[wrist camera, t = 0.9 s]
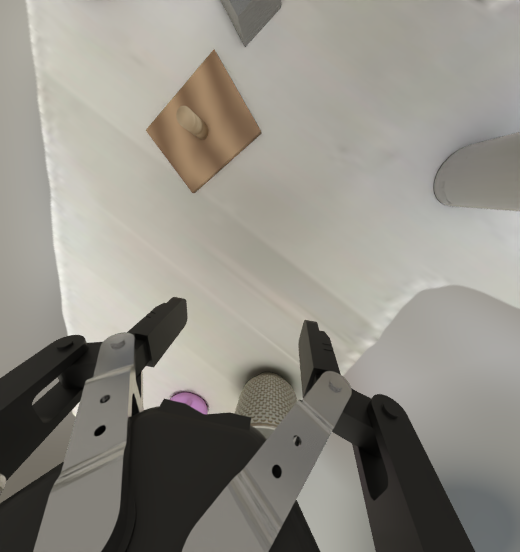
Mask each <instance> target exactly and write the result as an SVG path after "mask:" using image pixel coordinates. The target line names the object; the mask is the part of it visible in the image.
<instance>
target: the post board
mask: <svg viewBox="0 0 520 552" xmlns="http://www.w3.org/2000/svg"><path fill="white" fill-rule="evenodd" d="M146 131H147V133H148V134H149V135H150V137H151V138H152V139H153V141H154V142H155V143H156V145H157V146H158V147H159V149H160V150H161V151H162V153H163V154H164V155H165V157H166V158H167V159H168V161H169V162H170V163H171V165H172V166H173V167H174V169H175V170H176V171H177V173H178V174H179V175H180V177H181V178H182V179H183V181H184V182H185V183H186V185H187V186H188V188H189V189H190V190H191V192H192V193H195V192H196V191H197V190H199V189H200V188H201V187H202V186H203V185H204V184H205V183H206V182H207V181H209V180H210V179H211V178H212V177H213V176H214V175H215V174H216V173H218V172H219V171H220V170H221V169H222V168H223V167H224V166H225V165H227V164H228V163H229V162H230V161H231V160H232V159H233V158H234V157H235V156H237V155H238V154H239V153H240V152H241V151H242V150H243V149H244V148H246V147H247V146H248V145H249V144H250V143H251V142H252V141H253V140H255V139H256V138H257V137H258V136H259V135H260V134H261V131H260V129H259V127H258V125H257V124H256V122H255V120H254V118H253V117H252V115H251V113H250V111H249V110H248V108H247V106H246V104H245V102H244V101H243V99H242V97H241V95H240V94H239V92H238V90H237V88H236V87H235V85H234V83H233V81H232V80H231V78H230V76H229V74H228V73H227V71H226V69H225V67H224V66H223V64H222V62H221V60H220V59H219V57H218V55H217V53H216V52H215V50H213V51H212V52H211V54H210V55H209V56H208V57H207V58H206V59H205V61H204V62H203V63H202V64H201V65H200V67H199V68H198V69H197V70H196V71H195V72H194V74H193V75H192V76H191V77H190V78H189V80H188V81H187V82H186V83H185V84H184V86H183V87H182V88H181V89H180V90H179V91H178V93H177V94H176V95H175V96H174V97H173V99H172V100H171V101H170V102H169V103H168V104H167V106H166V107H165V108H164V109H163V110H162V112H161V113H160V114H159V115H158V116H157V117H156V119H155V120H154V121H153V122H152V123H151V125H150V126H149V127H148V128H147V129H146Z"/></svg>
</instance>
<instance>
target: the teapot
mask: <svg viewBox="0 0 520 552" xmlns="http://www.w3.org/2000/svg"><path fill="white" fill-rule="evenodd" d="M170 400H172V401H177V402H182V403H185V404H187V405H189V406H191V407H192V408H194V409H196V410H197V411H199V412H201V413H203V414H207V406H206V404H205V402H204V400H203V399H202V398H201V397H199V396H197V395H195V394H193V393H188V392H183V393H179V394H177V395H175V396H173V397H172V398H171V399H170Z"/></svg>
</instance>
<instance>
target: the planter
mask: <svg viewBox="0 0 520 552" xmlns="http://www.w3.org/2000/svg"><path fill="white" fill-rule="evenodd" d="M296 403H297V398H296V395H295V392H294V390H293V388H292V387H291V385H290V384H289V383H288V382H287V381H285V380H284V379H282V378H281V377H280V376H279V375H277V374H275V373H271V372H265V373H261V374H259V375H258V376H256V377H254V378H252V379H250V380H249V381H248V382H247V383H246V385H245V386H244V388H243V390H242V392H241V395H240V398H239V401H238V404H237V407H236V411H235V414H238V415H243V416H248V417H251V423H250V425H251V426H253V427H255V428H256V429H257V430H259V431H260V432H261V433H262V434H263V435H264V436H265V438H266V439H268V438H269V436H270V435H271V434H272V433H273V431H274V430H275V429H276V428H277V426H278V425H279V424H280V423H281V421H282V420H283V419H284V418H285V416H286V415H287V414H288V413H289V411H290V410H291V409H292V408H293V406H294V405H295V404H296Z"/></svg>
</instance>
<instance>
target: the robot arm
mask: <svg viewBox="0 0 520 552" xmlns="http://www.w3.org/2000/svg"><path fill="white" fill-rule="evenodd" d="M434 191H435V195H436V197H437V199H438V200H439V201H440V202H441V203H443V204H444V205H447V206H452V207H467V208H480V209H495V210H509V211H520V132H517V133H513V134H509V135H506V136H502V137H498V138H494V139H490V140H486V141H482V142H479V143H475V144H471V145H468V146H466V147H463V148H461V149H460V150H458V151H456V152H455V153H454V154H453V155H451V156H450V157H449V158H448V159H447V160H446V161H445V162H444V163H443V165H442V166H441V168H440V169H439V171H438V173H437V176H436V179H435V182H434ZM186 322H187V304H186V300H185V299H183V298H177V297H173V298H171V299H170V300H169V301H168V302H167V303H163V304H161V305H159V306H157V307H155V308H154V309H153V310H152V311H151V312H150V313H149V314H147V315H146V317H144V318H143V319H142V320H141V321H139V322H138V323H137V324H136V325H135V326H134V327H133V328H132V329H130V330H129V331H128V332H127V333H118V334H115V335H113V336H110V337H109V338H107V339H106V340H105V341H104V342H94V343H86V340H85V338H84V337H83V336H81V335H71V336H67V337H63V338H61V339H58V340H56V341H54V342H53V343H51V344H50V345H48V346H47V347H45V348H44V349H42V350H41V351H40V352H38V353H37V354H35V355H34V356H32V357H31V358H29V359H28V360H26V361H25V362H23V363H22V364H21V365H19V366H18V367H16V368H15V369H13V370H12V371H10V372H9V373H7V374H6V375H5V376H3V377H2V378H0V495H1V493H2V491H3V489H4V486H5V483H6V481H7V480H8V478H9V477H10V476H11V475H12V474H13V473H14V472H15V471H16V470H17V469H18V468H19V467H20V466H21V464H22V463H23V462H24V461H25V460H26V459H27V458H28V457H29V456H30V455H31V454H32V452H33V451H34V450H35V449H36V448H37V447H38V446H39V445H40V444H41V443H42V442H43V441H44V440H45V438H46V437H47V436H48V435H49V434H50V433H51V432H52V431H53V430H54V429H55V428H56V426H57V425H58V424H59V423H60V422H61V421H62V420H63V419H64V418H65V417H66V416H67V415H68V413H69V412H70V411H71V410H72V409H73V408H74V407H75V406H76V405H77V404H78V403H79V402H80V404H79V408H78V412H77V415H76V419H75V423H74V426H73V430H72V434H71V438H70V441H69V445H68V449H67V453H66V456H65V460H64V462H62V463H61V464H59V465H58V466H56V467H55V468H53V469H52V470H50V471H49V472H47V473H46V474H44V475H43V476H41V477H40V478H38V479H37V480H35V481H34V482H32V483H31V484H29V485H27V486H26V487H25V488H23V489H21V490H20V491H18V492H17V493H15V494H14V495H12V496H11V497H9V498H8V499H6V500H5V501H3V502H2V503H0V552H320V550H319V548H318V546H317V544H316V542H315V539H314V537H313V535H312V533H311V531H310V528H309V526H308V524H307V522H306V520H305V517H304V516H303V513H302V511H301V509H300V507H299V504H298V502H297V500H296V499H297V497H298V495H299V493H300V491H301V489H302V487H303V486H304V484H305V482H306V480H307V478H308V476H309V474H310V472H311V470H312V468H313V467H314V465H315V463H316V461H317V459H318V457H319V455H320V453H321V451H322V449H323V447H324V446H325V444H326V442H327V439H328V438H329V436H330V434H331V432H334V433H335V434H337V435H339V436H340V437H342V438H344V439H345V440H347V441H349V442H351V443H352V445H353V450H354V454H355V459H356V463H357V468H358V472H359V477H360V481H361V486H362V490H363V495H364V500H365V504H366V509H367V514H368V518H369V523H370V527H371V532H372V536H373V541H374V545H375V550H376V552H475V551H474V549H473V546H472V545H471V542H470V540H469V538H468V536H467V534H466V533H465V530H464V528H463V526H462V524H461V523H460V520H459V518H458V516H457V514H456V512H455V510H454V508H453V506H452V504H451V502H450V500H449V498H448V496H447V494H446V492H445V490H444V488H443V486H442V484H441V482H440V480H439V478H438V476H437V474H436V472H435V470H434V468H433V466H432V464H431V462H430V460H429V458H428V456H427V454H426V452H425V450H424V448H423V446H422V444H421V442H420V440H419V438H418V436H417V434H416V432H415V430H414V428H413V426H412V424H411V422H410V420H409V418H408V416H407V414H406V412H405V411H404V409H403V408H402V407H401V406H400V405H399V404H398V403H397V402H396V401H394V400H393V399H391V398H390V397H388V396H385V395H381V394H377V395H374V396H373V398H372V399H371V398H369V397H367V396H365V395H363V394H361V393H358V392H357V391H355V390H353V389H352V388H351V386H350V384H349V383H348V381H347V380H346V379H345V378H344V377H343V376H342V375H341V374H340V371H339V367H338V364H337V361H336V357H335V354H334V352H333V348H332V344H331V341H330V338H329V337H328V335H327V334H326V333H325V332H324V331H319V328H318V324H317V322H314V321H308V320H305V321H304V323H303V327H302V331H301V334H300V338H299V358H300V370H301V381H302V393H303V400H302V401H301V400H299V401H298V402H297V403H296V404H295V405H294V406H293V408H292V409H291V410H290V411H289V413H288V414H287V415H286V416H285V418H284V419H283V420H282V421H281V423H280V424H279V425H278V426H277V428H276V429H275V430H274V431H273V433H272V434H271V435H270V436H269V438H268V439H266V438H265V436H264V435H263V434H262V433H261V432H260V431H259V430H257V429H256V428H255V427H253V426H251V425H250V423H251V417H248V416H243V415H238V414H233V413H219V414H203V413H201V412H199V411H197V410H196V409H194V408H192V407H191V406H189V405H187V404H185V403H182V402H177V401H172V400H167V399H164V400H163V402H162V403H161V405H160V407H154V408H150V409H147V410H144V408H143V372H142V370H143V369H144V367H145V366H150V367H154V366H155V365H156V364H157V362H158V361H159V360H160V358H161V357H162V356H163V354H164V353H165V352H166V350H167V349H168V348H169V346H170V345H171V344H172V342H173V341H174V340H175V338H176V337H177V336H178V335H179V333H180V332H181V331H182V329H183V328H184V327H185V325H186ZM57 377H58V379H59V382H58V383H57V384H56V385H55V386H54V387H53V388H52V389H50V390H49V391H48V392H47V393H46V394H45V395H44V396H43V397H42V398H40V399H39V400H38V401H37V402H36V403H35V404H34V405H32V402H33V400H34V398H35V396H36V395H37V394H38V393H39V392H40V391H41V390H42V389H44V388H45V387H46V386H47V385H49V384H50V383H51V382H52V381H53V380H54V379H56V378H57Z"/></svg>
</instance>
